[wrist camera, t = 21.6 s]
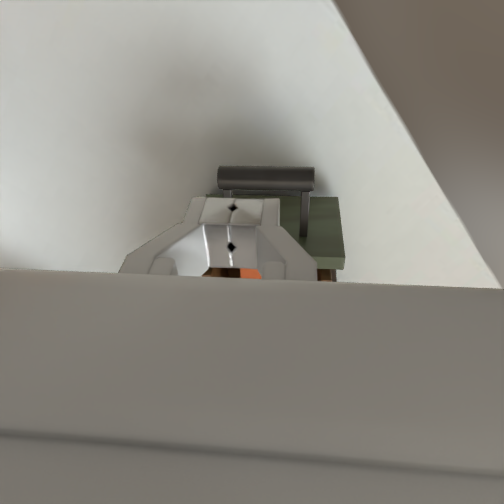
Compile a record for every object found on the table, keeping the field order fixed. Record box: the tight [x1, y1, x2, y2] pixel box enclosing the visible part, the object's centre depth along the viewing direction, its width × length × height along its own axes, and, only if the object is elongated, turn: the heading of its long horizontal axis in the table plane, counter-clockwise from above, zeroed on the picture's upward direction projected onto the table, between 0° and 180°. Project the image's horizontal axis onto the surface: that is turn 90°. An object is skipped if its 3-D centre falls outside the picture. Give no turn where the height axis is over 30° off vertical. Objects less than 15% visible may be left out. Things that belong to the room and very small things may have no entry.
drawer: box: [201, 166, 345, 282], centre depth 34 cm, size 19×11×8 cm, turn 2°
